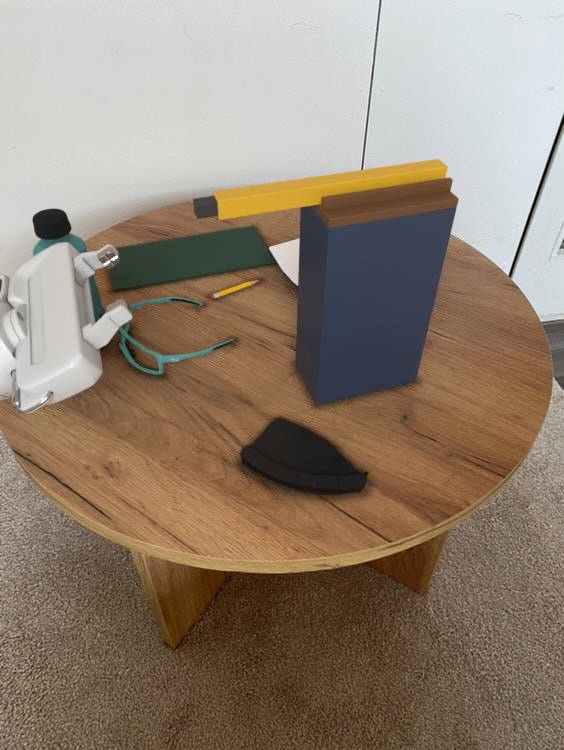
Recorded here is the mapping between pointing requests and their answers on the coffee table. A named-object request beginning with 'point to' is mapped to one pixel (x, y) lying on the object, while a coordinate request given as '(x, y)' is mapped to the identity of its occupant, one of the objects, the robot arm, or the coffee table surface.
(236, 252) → the rubber mat
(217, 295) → the pencil
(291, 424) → the curved wedge
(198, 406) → the coffee table surface
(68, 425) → the coffee table surface
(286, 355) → the coffee table surface
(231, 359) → the coffee table surface
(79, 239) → the beverage bottle
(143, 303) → the sunglasses
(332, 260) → the blue tall block
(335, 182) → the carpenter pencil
